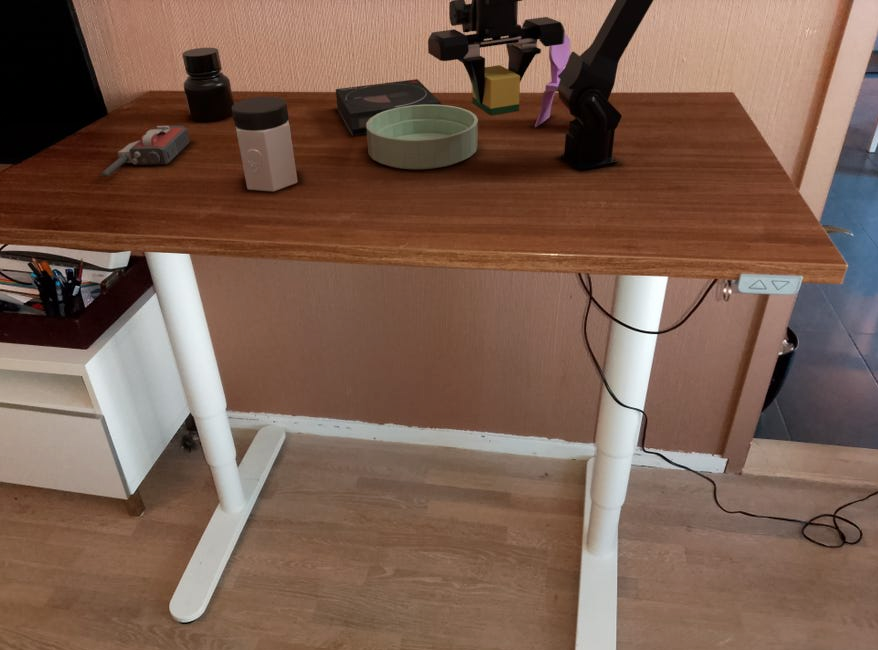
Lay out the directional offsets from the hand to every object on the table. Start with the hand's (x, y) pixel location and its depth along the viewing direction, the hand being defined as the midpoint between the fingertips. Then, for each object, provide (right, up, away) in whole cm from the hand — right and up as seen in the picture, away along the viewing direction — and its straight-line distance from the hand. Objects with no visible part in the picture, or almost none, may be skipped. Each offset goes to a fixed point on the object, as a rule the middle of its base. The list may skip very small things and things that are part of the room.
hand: (495, 100), depth 106 cm
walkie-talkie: (-57, -4, +18) cm, 60 cm away
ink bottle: (-51, +10, +37) cm, 64 cm away
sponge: (0, -1, +1) cm, 1 cm away
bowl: (-10, -3, +14) cm, 18 cm away
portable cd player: (-16, +7, +30) cm, 35 cm away
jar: (-34, -10, +7) cm, 37 cm away
